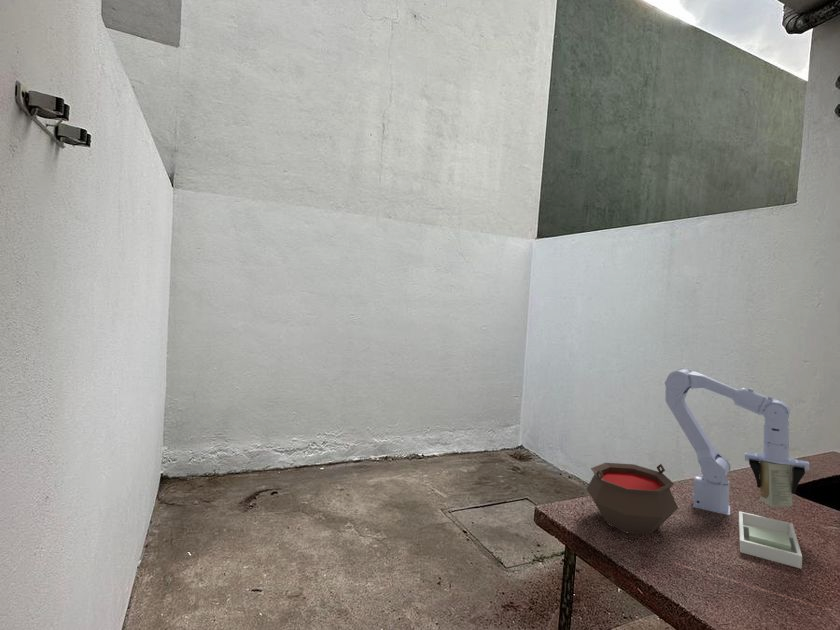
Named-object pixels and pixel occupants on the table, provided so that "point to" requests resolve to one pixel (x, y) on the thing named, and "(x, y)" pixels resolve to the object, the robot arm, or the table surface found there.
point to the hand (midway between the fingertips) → (775, 489)
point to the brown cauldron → (632, 496)
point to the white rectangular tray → (769, 552)
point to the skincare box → (775, 484)
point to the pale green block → (769, 538)
